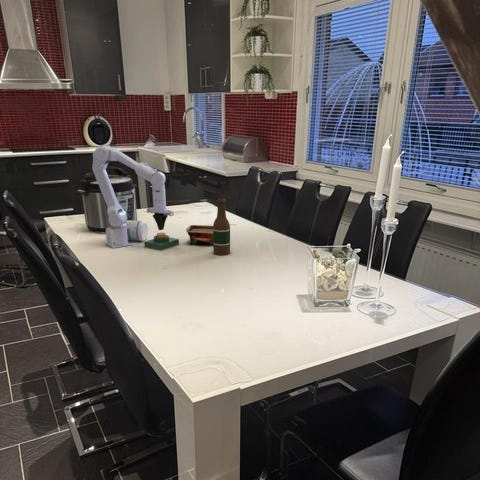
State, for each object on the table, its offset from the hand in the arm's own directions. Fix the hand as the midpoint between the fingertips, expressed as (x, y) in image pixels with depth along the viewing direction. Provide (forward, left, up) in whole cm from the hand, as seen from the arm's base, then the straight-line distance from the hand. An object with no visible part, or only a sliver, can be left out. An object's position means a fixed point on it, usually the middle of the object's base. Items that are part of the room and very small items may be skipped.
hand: (161, 229), depth 217 cm
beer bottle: (+16, -26, -8) cm, 32 cm away
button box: (0, 0, -8) cm, 8 cm away
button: (0, 0, -4) cm, 4 cm away
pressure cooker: (-4, +46, -8) cm, 46 cm away
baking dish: (+20, -7, -8) cm, 23 cm away
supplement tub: (-2, +13, -3) cm, 13 cm away
